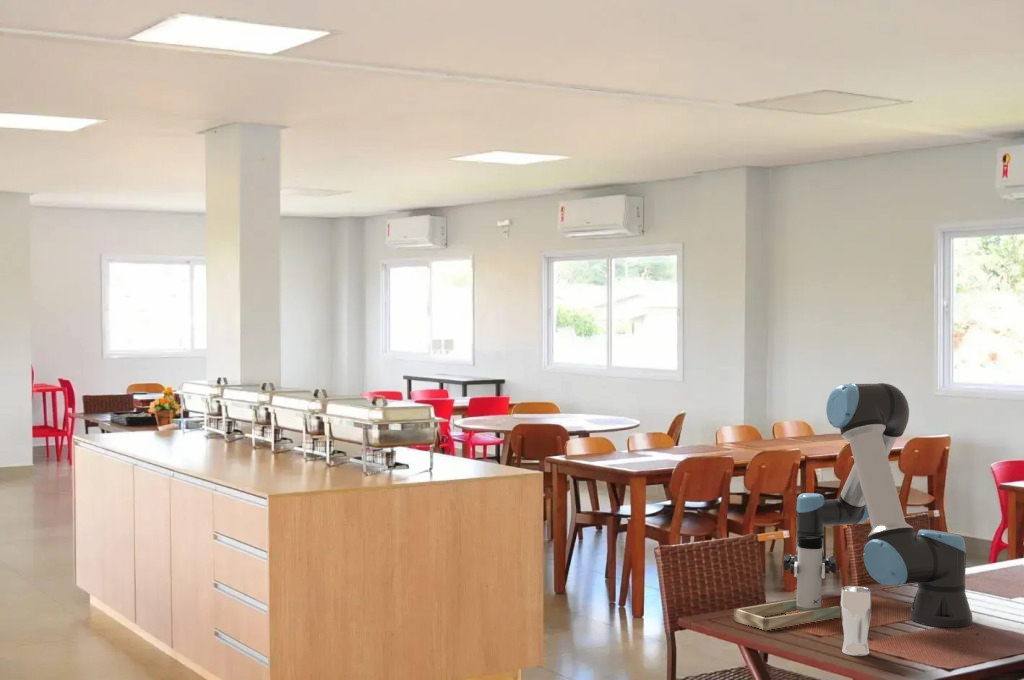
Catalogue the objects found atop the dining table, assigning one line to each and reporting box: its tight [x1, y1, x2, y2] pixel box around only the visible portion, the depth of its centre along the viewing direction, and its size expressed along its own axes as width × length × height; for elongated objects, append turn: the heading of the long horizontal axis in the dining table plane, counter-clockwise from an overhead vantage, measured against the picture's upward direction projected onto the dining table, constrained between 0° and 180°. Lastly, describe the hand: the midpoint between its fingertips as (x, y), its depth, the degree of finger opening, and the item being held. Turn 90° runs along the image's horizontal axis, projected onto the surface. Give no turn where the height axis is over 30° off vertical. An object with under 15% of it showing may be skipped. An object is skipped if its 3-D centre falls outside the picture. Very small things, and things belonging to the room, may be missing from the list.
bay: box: [733, 598, 841, 631], centre depth 303 cm, size 12×26×3 cm, turn 120°
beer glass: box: [839, 585, 872, 657], centre depth 273 cm, size 7×7×15 cm
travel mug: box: [796, 535, 825, 612], centre depth 307 cm, size 6×7×20 cm
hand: (809, 572), depth 303 cm, fingers closed on travel mug, 6 cm apart
